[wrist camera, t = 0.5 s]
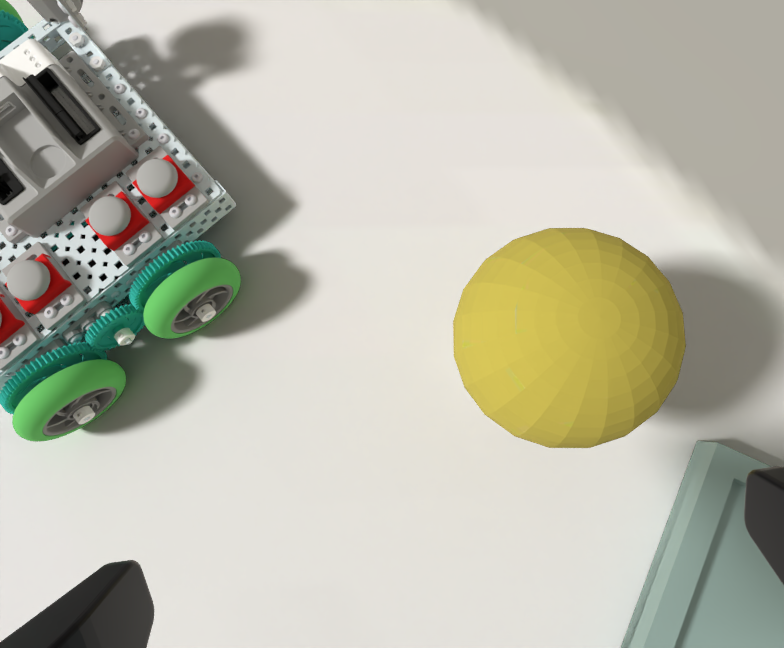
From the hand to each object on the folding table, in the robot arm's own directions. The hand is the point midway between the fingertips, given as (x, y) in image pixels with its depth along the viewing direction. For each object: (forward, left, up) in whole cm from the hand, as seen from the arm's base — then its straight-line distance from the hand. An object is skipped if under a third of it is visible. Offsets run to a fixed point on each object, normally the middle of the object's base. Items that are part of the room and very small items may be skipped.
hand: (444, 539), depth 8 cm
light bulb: (+6, -2, -15) cm, 16 cm away
